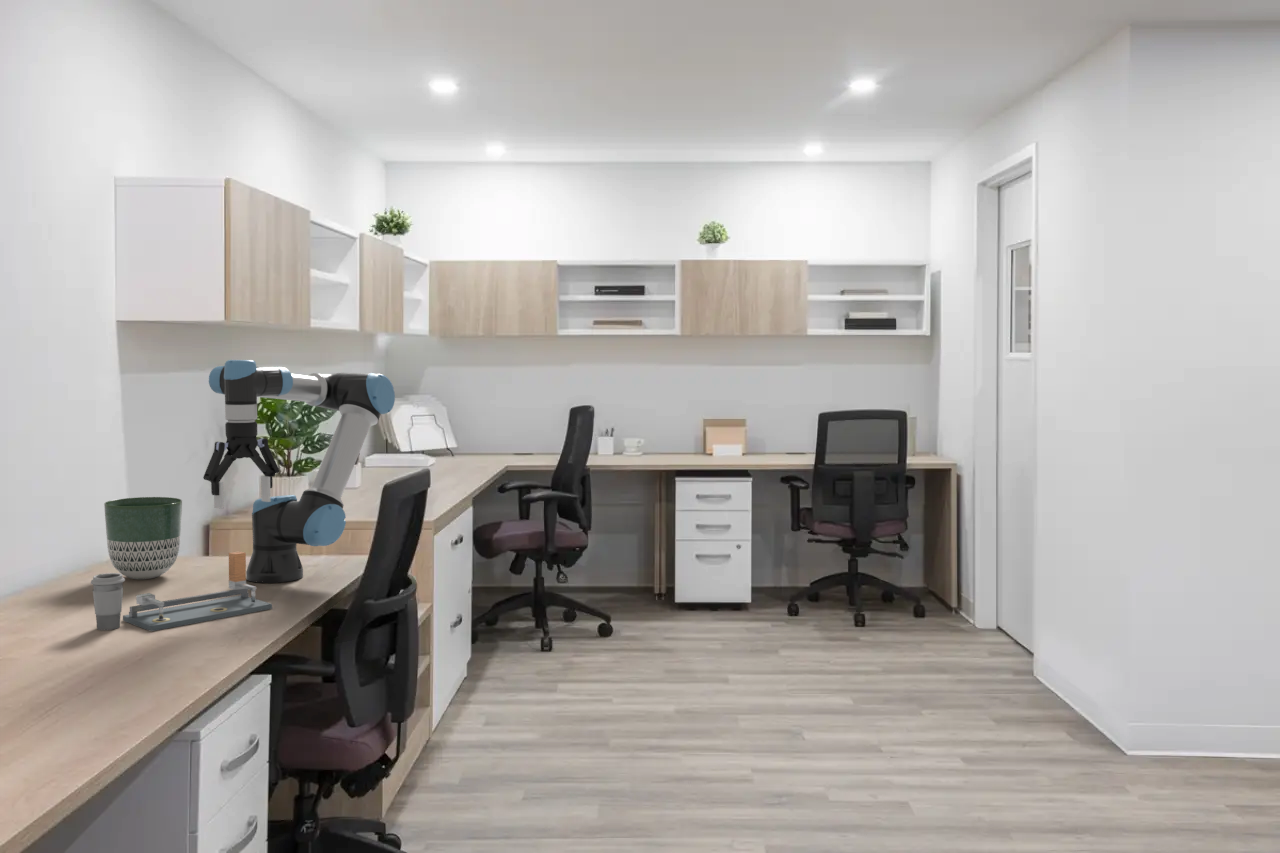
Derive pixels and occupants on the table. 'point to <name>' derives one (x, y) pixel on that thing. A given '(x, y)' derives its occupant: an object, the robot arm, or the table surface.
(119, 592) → the cup
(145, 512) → the planter
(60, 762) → the table surface
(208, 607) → the gauge board
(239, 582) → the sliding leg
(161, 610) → the rail
